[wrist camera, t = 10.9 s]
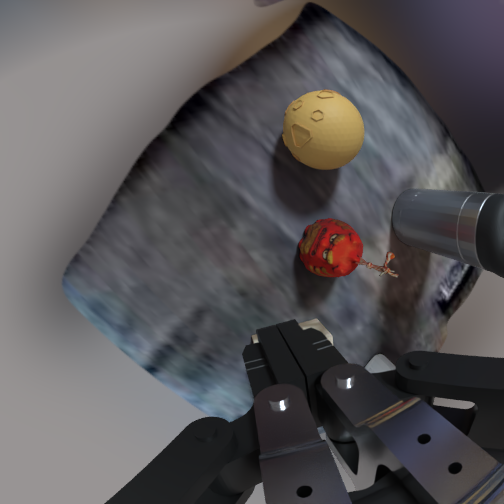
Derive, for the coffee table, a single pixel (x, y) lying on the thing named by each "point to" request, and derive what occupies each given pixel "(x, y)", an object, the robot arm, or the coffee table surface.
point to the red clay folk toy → (335, 249)
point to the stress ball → (323, 130)
